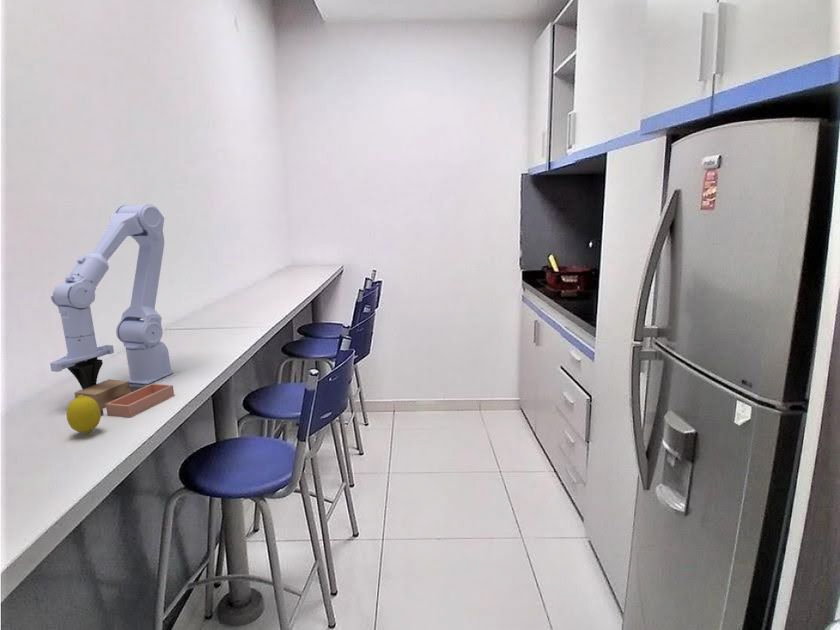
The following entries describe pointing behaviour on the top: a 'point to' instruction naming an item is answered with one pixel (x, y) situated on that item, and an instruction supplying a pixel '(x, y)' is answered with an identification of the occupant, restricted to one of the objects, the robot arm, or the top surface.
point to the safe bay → (132, 389)
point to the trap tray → (139, 400)
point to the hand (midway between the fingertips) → (89, 391)
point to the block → (106, 391)
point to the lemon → (83, 414)
